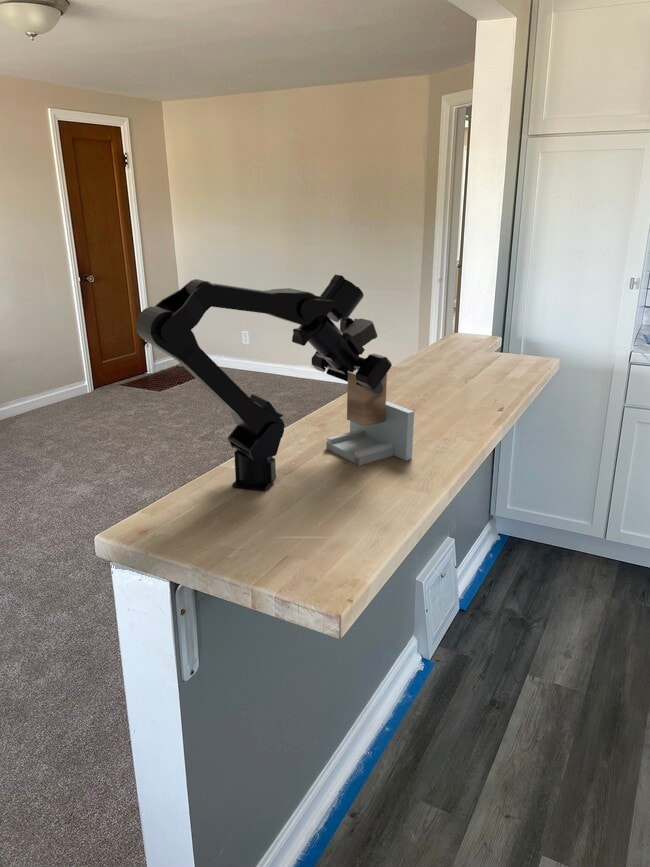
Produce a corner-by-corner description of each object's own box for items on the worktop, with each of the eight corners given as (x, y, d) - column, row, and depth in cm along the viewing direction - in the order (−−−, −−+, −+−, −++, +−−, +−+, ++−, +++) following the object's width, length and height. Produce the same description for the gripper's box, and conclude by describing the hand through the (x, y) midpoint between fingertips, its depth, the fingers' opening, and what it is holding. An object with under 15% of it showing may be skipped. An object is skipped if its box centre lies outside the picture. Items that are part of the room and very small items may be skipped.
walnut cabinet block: (364, 426, 127) (365, 377, 123) (346, 419, 131) (347, 371, 127) (385, 421, 130) (386, 373, 126) (367, 414, 134) (369, 367, 130)
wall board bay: (371, 471, 123) (372, 422, 119) (316, 443, 136) (316, 398, 133) (411, 458, 128) (414, 411, 125) (355, 433, 142) (356, 390, 139)
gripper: (385, 313, 113) (427, 365, 123) (323, 300, 127) (365, 348, 137) (349, 363, 111) (394, 412, 121) (290, 344, 125) (335, 389, 135)
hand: (372, 388), depth 129 cm, fingers closed on walnut cabinet block, 5 cm apart
